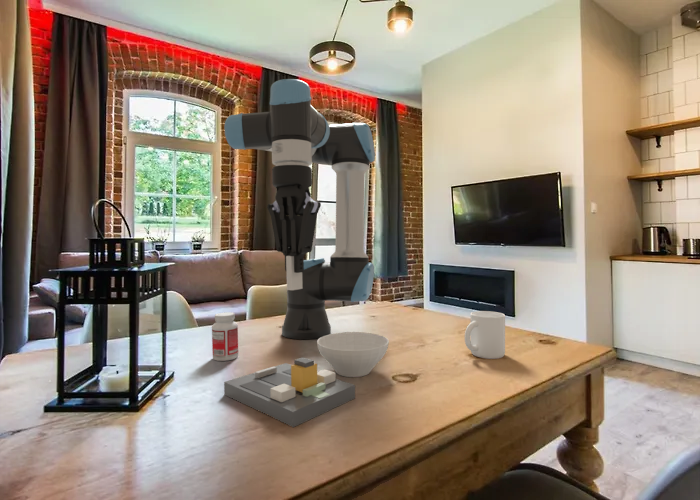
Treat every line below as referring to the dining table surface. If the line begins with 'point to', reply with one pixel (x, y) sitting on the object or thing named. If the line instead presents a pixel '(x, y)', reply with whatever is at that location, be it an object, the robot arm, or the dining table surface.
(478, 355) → the mug
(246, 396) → the panel
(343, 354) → the bowl
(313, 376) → the breaker handle
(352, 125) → the robot arm
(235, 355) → the pill bottle
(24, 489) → the dining table surface
